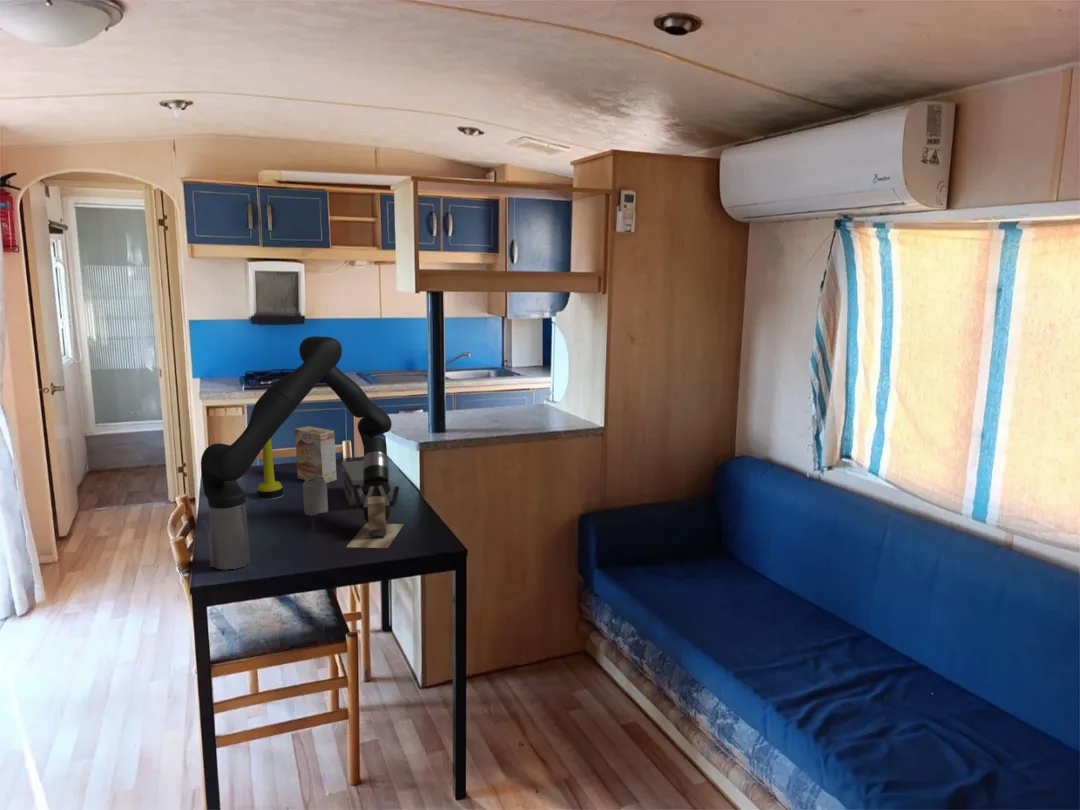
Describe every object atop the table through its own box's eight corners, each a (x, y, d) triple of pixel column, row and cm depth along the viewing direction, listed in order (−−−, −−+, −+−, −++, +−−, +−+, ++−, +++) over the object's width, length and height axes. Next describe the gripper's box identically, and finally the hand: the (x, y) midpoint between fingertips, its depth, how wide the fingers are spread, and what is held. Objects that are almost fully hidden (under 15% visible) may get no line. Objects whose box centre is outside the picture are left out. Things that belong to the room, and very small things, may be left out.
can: (318, 508, 246) (316, 474, 244) (333, 512, 242) (331, 477, 240) (299, 514, 240) (297, 479, 238) (314, 518, 236) (312, 482, 234)
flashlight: (262, 430, 249) (284, 426, 257) (246, 427, 254) (268, 423, 262) (267, 501, 254) (289, 495, 261) (251, 497, 259) (273, 490, 266)
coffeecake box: (296, 478, 282) (293, 428, 279) (312, 474, 288) (309, 425, 285) (322, 484, 274) (319, 433, 270) (337, 480, 280) (334, 430, 276)
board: (346, 551, 209) (345, 547, 208) (366, 527, 228) (365, 523, 228) (387, 551, 208) (387, 547, 208) (404, 527, 228) (404, 524, 227)
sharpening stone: (343, 491, 265) (341, 462, 263) (365, 489, 268) (363, 460, 266) (353, 512, 242) (352, 480, 241) (377, 509, 245) (376, 478, 244)
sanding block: (368, 536, 214) (367, 504, 212) (369, 526, 223) (367, 494, 221) (386, 535, 215) (384, 502, 214) (386, 525, 224) (384, 493, 222)
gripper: (351, 465, 221) (351, 516, 212) (399, 462, 224) (401, 512, 215) (352, 477, 228) (352, 527, 218) (399, 474, 230) (401, 523, 221)
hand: (377, 519), depth 217 cm, fingers closed on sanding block, 4 cm apart
